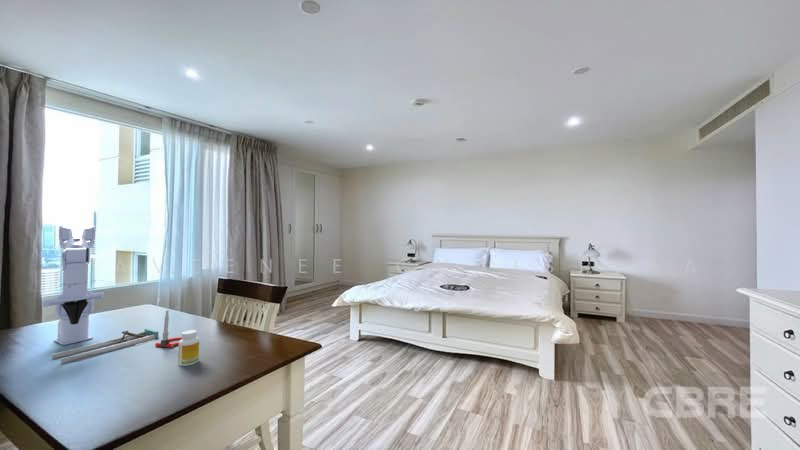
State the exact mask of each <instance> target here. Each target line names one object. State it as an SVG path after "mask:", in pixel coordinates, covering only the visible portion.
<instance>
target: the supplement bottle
mask: <svg viewBox="0 0 800 450" xmlns="http://www.w3.org/2000/svg"><path fill="white" fill-rule="evenodd" d="M197 334H198V331H197V330H195V329H190V330H185V331H182V332H181V336H180V337H182V339H181V340H178V342H179V345H178V353H177V354H178V358H177V364H178V366H180V367H186V366H187V367H188V366H192V365H194V364H196V363H198V362H199V360H200V353H199V352H200V338H199V337H198V336H197Z"/></svg>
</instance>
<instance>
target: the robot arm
mask: <svg viewBox="0 0 800 450" xmlns="http://www.w3.org/2000/svg"><path fill="white" fill-rule="evenodd" d="M95 240H96V226H95V225H94V224H92V225H75V224H74V225H72V224H71V225H67V224H65V225H64V224H61V225H60V226H59V227H58V241H59V246H60V248H61V249H62V250H61V266H62V293H60V294H59V295H58V296H57V297H54V298H49V299H42V300H41V307H42V308H47V307H50V306H55V317H56V318H57V319H58V318H59V321H58V323H57V338H55V339H53V341H54V342H56V343H58V344H60V345H63V346H66V345H71V344H74V343H79V342H82V341H86V340H92V339H94V336H91V335H89V325H90V324H89V317H90V314H93V312H94V311H95V300H99V299H105V292H102V291H101V292H94V293H93V292H92V291H89V290H88V276H89V275H88V274H89V273H88V272H89V265H90V264H89V263H90V261H91V250H90V249H91V248H94V246H95Z"/></svg>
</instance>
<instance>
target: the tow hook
mask: <svg viewBox="0 0 800 450" xmlns="http://www.w3.org/2000/svg"><path fill="white" fill-rule="evenodd" d="M169 320H170V316H169V310H166V311H165V316H164V323H163V324H164V325H163V326H164V327H163V332H162V339H160V341H159V342H156V343H155V345H154V346H155V347H158V348H159V347H160V348H170V349H173V348H174V347H176V346H179V341H180V340H181V339H182V337H181V336H177V337H170V338H169V322H170V321H169ZM174 341H175V342H174Z"/></svg>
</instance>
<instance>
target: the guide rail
mask: <svg viewBox="0 0 800 450" xmlns="http://www.w3.org/2000/svg"><path fill="white" fill-rule="evenodd" d="M135 334H138V335H143V336H147V335H148V336H147V337H143V338H138V337H133V336H128V335H125V338H124V339H123V340H127V339H128V340H131V341H127V342H125V341H122V342H121V343H119V342H120V340H121V339H122V337H123V336H120V337H117V338H112V339H108V340H104V341H100V342H96V343H91V344H88V345H87V344H86V345H84V346H80V347H76V348H72V349H71V348H70V349H67V350H62V351H59V352H54V353H51V360H56V359H58V358H60V364H61V365H64V364H67V363H70V362H74V363H77V362H81V361H84V360H88V359H91V358H96V357H97V355H101V354H104V353H107V352H111V351H115V350H119V349H122V348H126V347H129V346H133V345H134V346H140V345H143V344H146V343H149V342H155V341H156V340H157V339H159V331H158V330H155V329H151V328H148V327H147V328H144V330H143V331H140V332H136V333H135ZM126 336H127V337H126Z"/></svg>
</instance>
